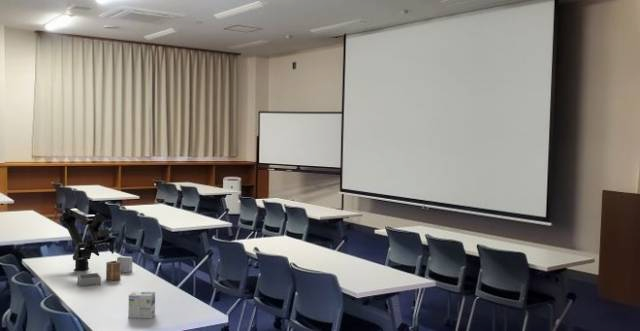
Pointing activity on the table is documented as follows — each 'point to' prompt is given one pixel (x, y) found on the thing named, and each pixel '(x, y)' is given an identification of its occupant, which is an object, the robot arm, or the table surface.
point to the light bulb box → (141, 305)
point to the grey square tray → (89, 279)
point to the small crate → (113, 270)
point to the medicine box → (125, 263)
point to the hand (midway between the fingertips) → (106, 254)
